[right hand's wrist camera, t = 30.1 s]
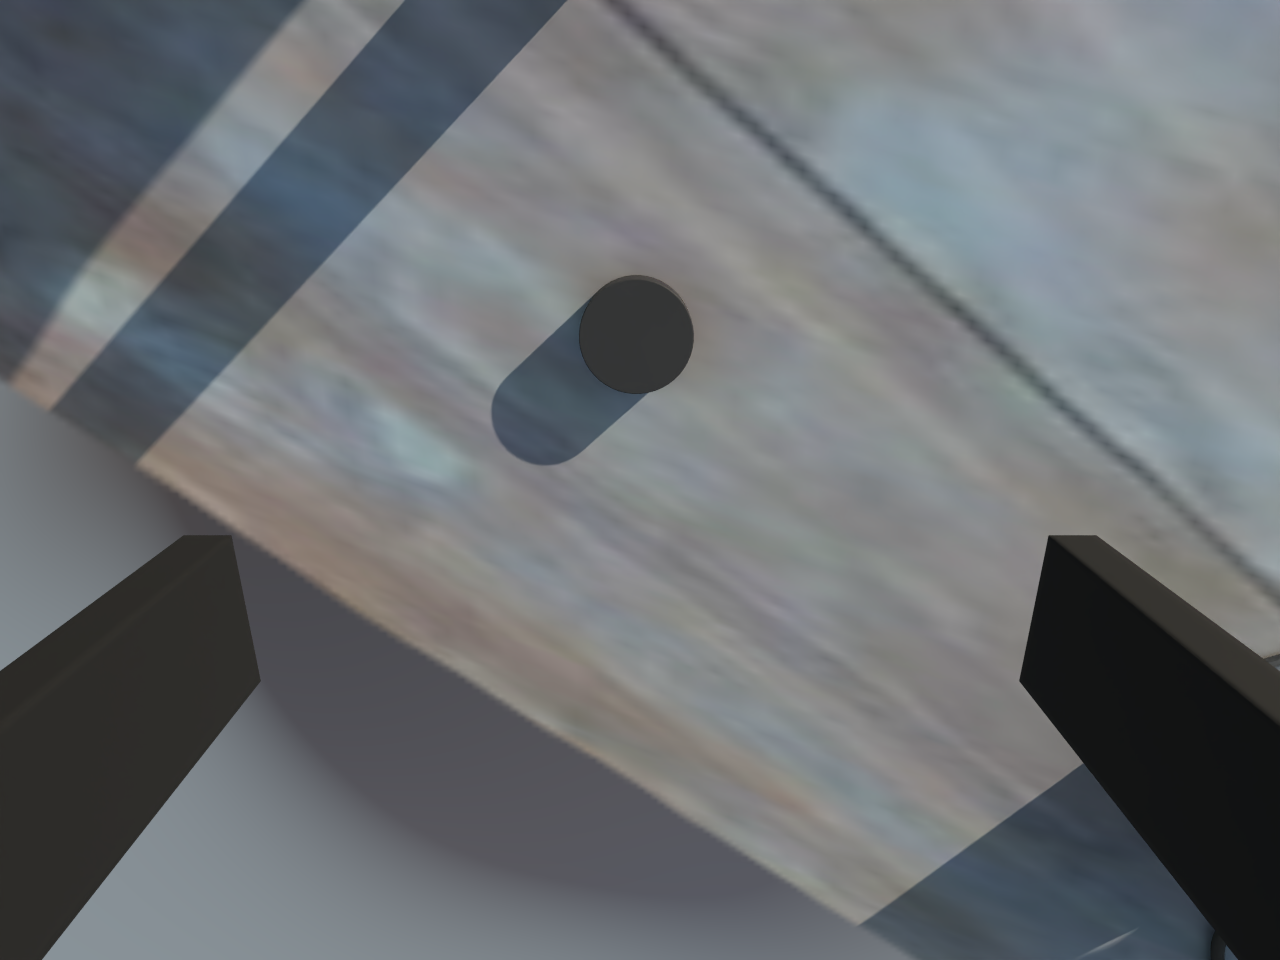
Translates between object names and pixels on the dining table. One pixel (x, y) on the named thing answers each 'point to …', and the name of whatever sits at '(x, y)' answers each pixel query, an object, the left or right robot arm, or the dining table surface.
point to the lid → (636, 334)
